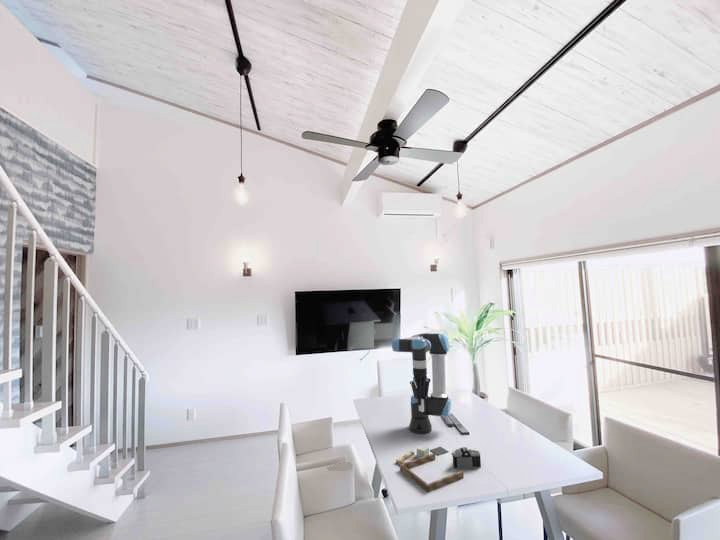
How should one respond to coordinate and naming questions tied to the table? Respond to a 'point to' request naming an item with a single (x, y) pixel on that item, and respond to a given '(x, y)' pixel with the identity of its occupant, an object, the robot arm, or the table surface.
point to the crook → (404, 458)
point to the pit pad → (438, 451)
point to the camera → (466, 458)
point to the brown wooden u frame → (420, 482)
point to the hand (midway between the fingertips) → (421, 410)
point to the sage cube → (422, 451)
